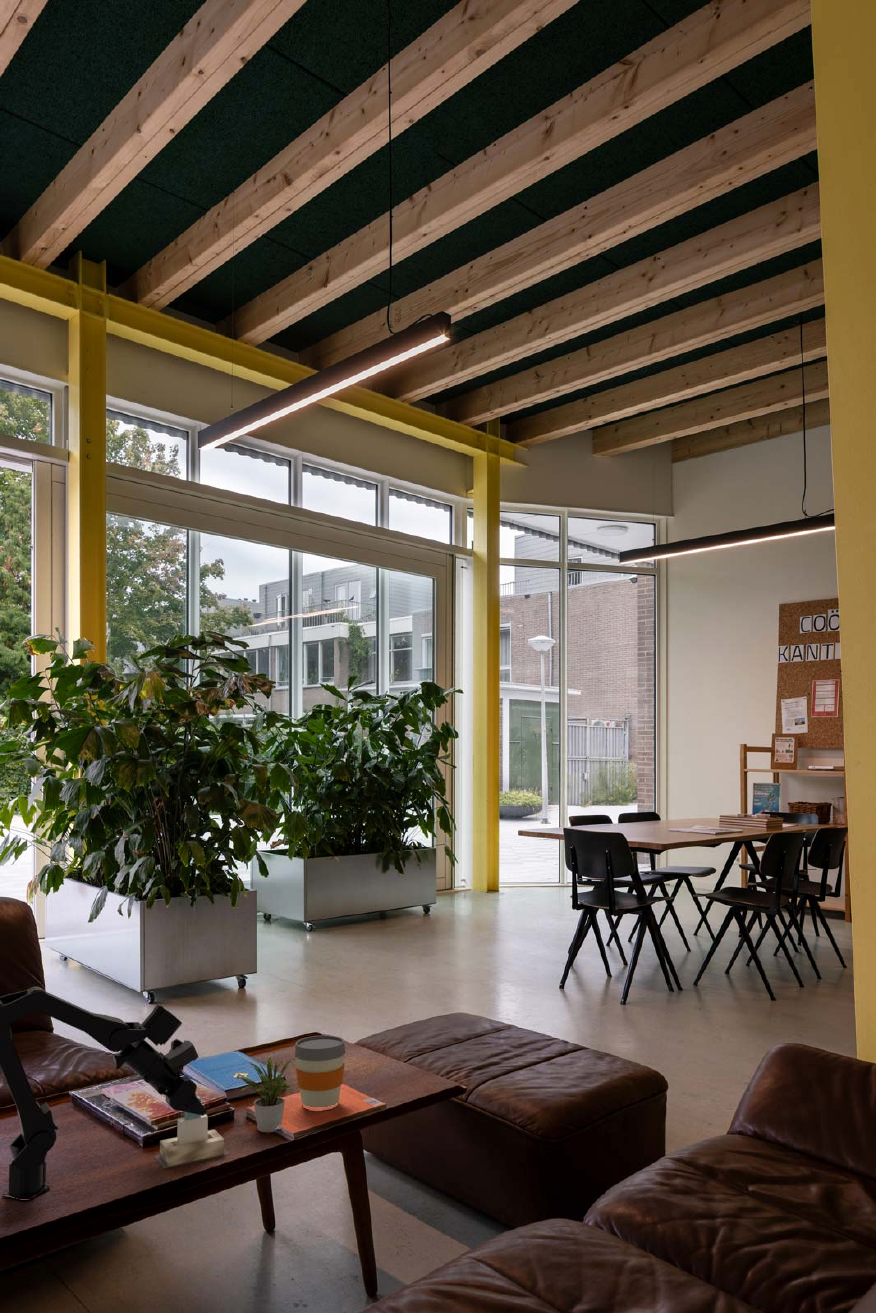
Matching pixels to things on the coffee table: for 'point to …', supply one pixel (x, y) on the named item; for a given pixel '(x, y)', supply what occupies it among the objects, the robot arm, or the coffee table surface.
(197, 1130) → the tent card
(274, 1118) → the house plant
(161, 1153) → the slot rack
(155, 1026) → the robot arm
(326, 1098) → the reusable coffee cup
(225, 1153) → the mat
